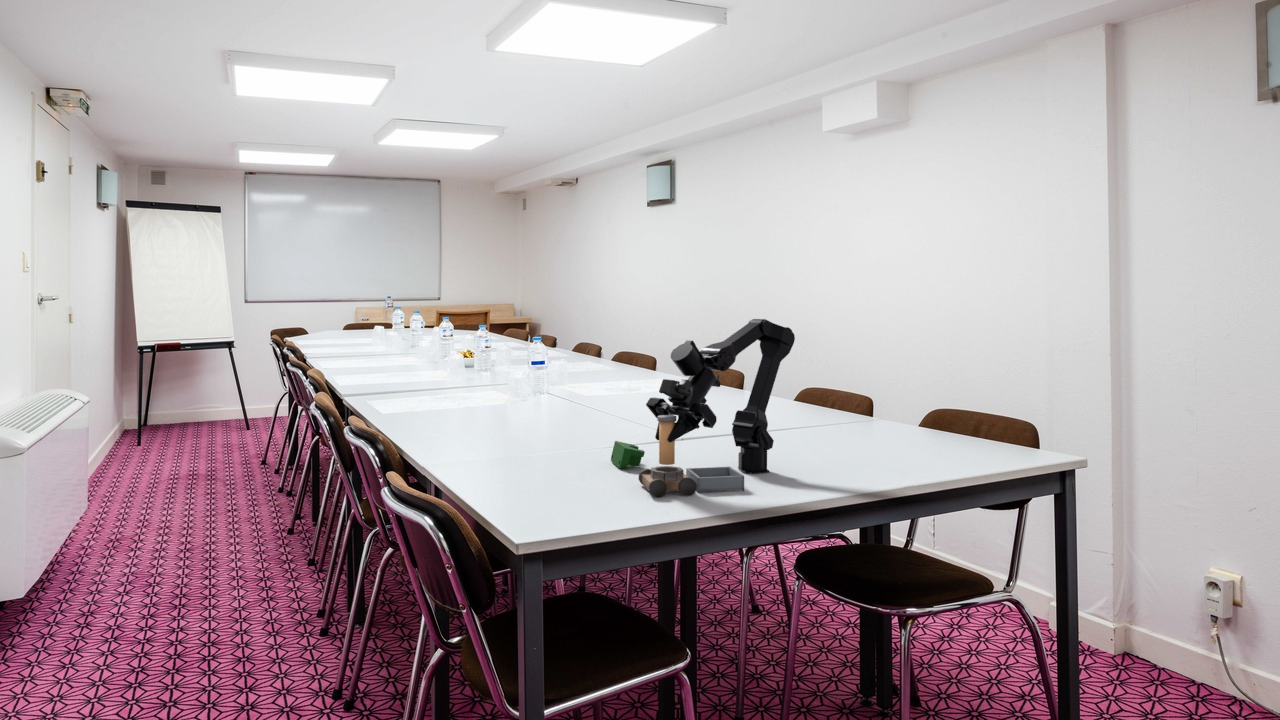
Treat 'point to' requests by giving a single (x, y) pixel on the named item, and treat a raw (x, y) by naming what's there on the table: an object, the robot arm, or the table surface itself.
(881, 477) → the table surface
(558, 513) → the table surface
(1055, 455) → the table surface
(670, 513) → the table surface
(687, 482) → the trolley
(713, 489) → the tray
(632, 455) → the green block
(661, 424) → the pin
